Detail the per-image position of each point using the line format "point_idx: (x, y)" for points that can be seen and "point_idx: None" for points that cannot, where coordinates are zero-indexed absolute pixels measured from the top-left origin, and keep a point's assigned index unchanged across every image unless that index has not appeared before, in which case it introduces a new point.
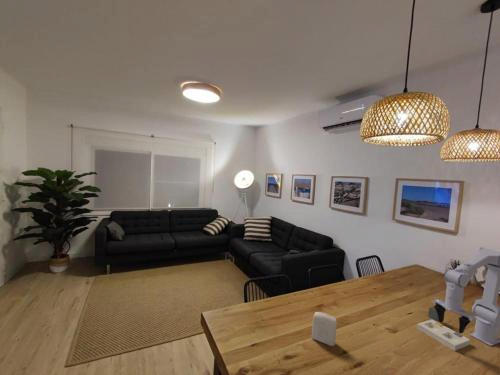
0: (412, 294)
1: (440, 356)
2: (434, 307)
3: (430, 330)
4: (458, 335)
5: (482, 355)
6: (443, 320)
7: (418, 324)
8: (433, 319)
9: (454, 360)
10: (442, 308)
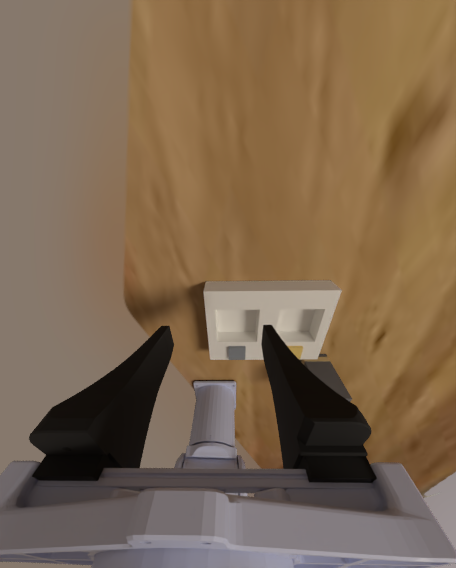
0: (398, 417)
1: (199, 193)
2: (355, 407)
3: (291, 294)
4: (232, 349)
5: (174, 334)
6: (262, 351)
7: (337, 289)
8: (315, 363)
9: (172, 228)
10: (292, 443)
